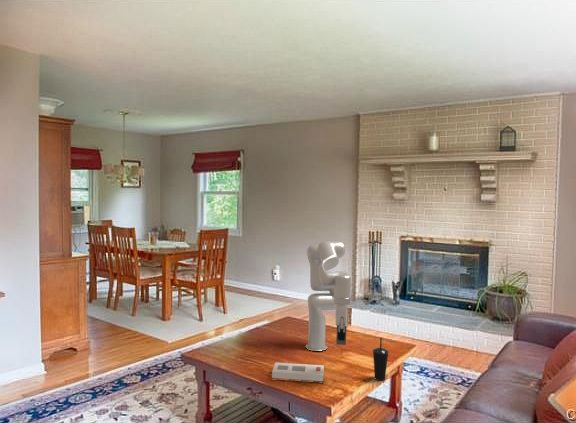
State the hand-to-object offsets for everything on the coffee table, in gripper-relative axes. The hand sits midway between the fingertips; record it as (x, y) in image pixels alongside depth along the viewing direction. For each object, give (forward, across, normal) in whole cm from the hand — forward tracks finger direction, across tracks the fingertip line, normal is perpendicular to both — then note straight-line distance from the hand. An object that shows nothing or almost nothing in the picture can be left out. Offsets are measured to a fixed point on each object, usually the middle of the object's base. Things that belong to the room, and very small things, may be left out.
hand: (341, 338), depth 216 cm
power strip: (+20, 0, -20) cm, 28 cm away
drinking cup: (+20, -4, +19) cm, 28 cm away
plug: (+2, 0, 0) cm, 2 cm away
